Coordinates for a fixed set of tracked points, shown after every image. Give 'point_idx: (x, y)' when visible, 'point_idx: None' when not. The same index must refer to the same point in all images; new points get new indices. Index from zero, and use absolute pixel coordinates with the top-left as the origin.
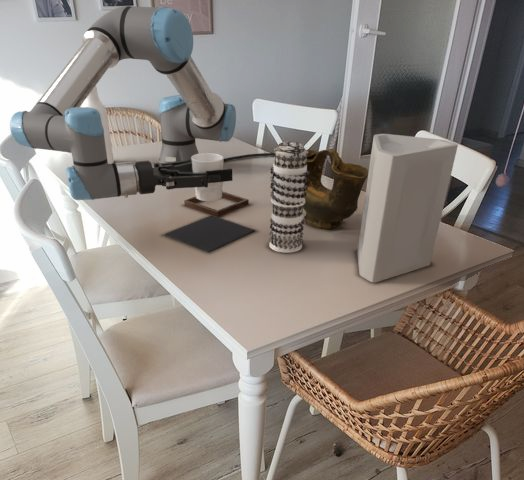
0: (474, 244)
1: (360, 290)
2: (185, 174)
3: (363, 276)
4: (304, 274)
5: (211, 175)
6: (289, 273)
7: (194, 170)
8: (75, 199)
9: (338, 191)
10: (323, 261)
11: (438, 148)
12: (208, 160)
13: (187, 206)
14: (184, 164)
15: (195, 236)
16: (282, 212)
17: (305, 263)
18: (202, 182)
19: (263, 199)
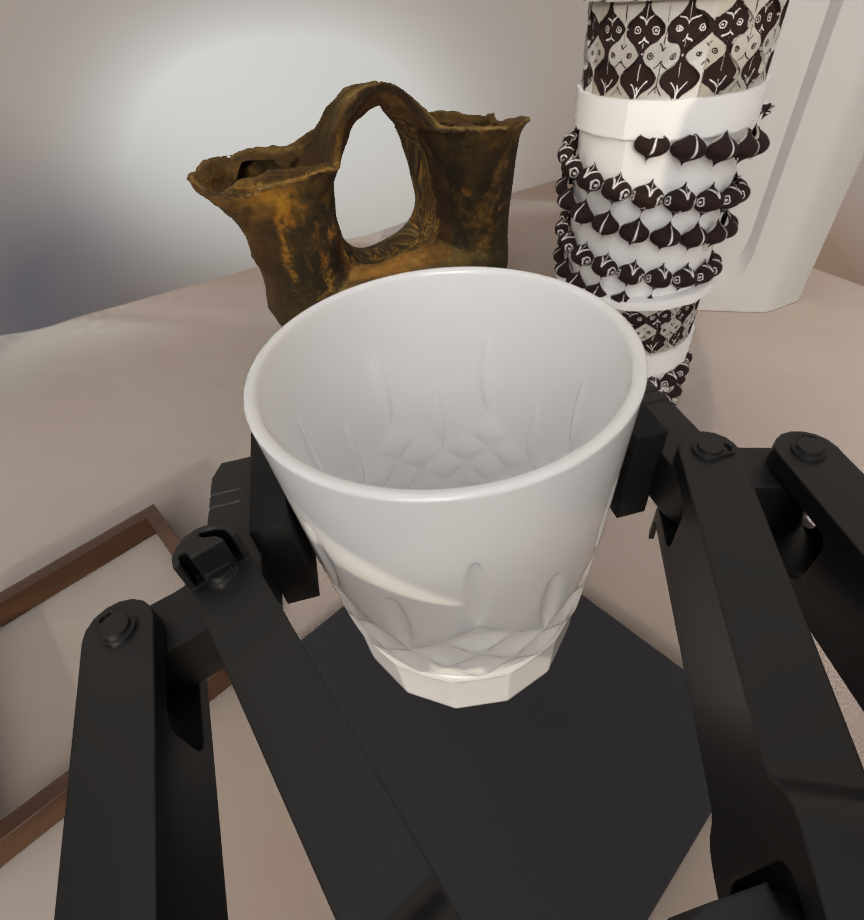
0: (544, 195)
1: (859, 318)
2: (823, 671)
3: (778, 306)
4: (822, 403)
5: (676, 420)
6: (837, 435)
7: (545, 563)
8: None
9: (500, 197)
10: (701, 362)
11: None
12: (296, 417)
13: (2, 865)
14: (304, 691)
15: (553, 810)
16: (695, 312)
17: (733, 396)
18: (804, 515)
19: (135, 468)
